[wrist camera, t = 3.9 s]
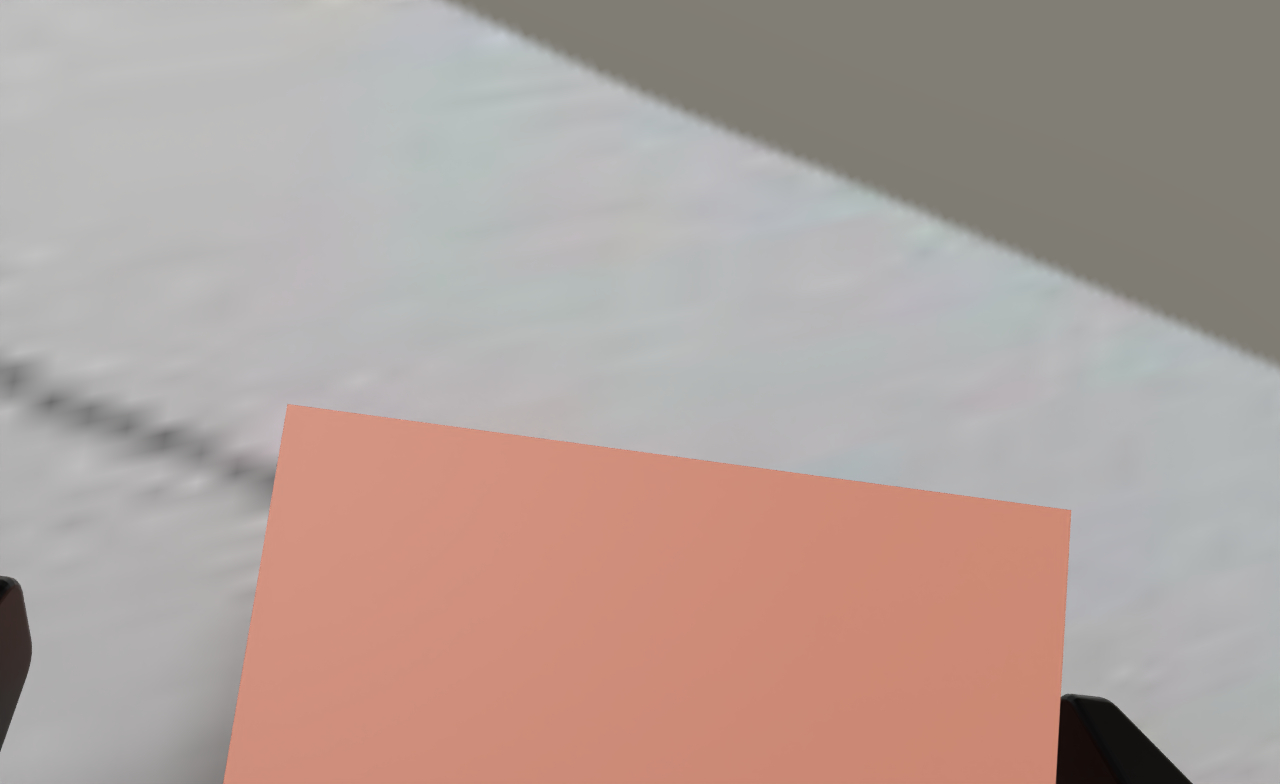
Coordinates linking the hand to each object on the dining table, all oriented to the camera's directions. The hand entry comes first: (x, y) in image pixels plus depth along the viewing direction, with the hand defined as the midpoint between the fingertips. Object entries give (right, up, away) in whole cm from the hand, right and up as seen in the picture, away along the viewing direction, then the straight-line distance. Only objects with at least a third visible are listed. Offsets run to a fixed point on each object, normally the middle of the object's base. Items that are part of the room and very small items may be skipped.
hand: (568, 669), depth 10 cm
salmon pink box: (-1, -1, +8) cm, 8 cm away
